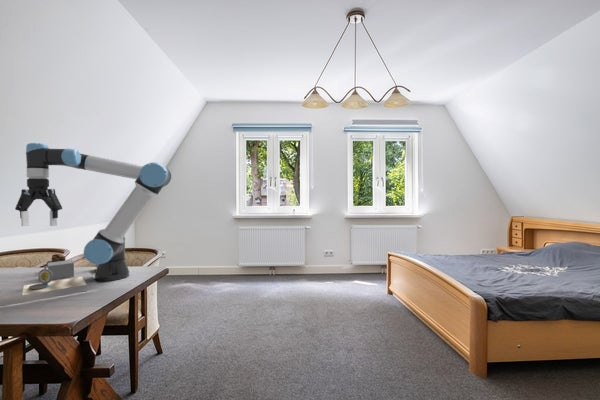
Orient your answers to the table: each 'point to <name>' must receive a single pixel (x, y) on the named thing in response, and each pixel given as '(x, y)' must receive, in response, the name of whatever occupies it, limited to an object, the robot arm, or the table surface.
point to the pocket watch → (41, 276)
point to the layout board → (55, 285)
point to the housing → (61, 269)
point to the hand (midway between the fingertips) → (39, 225)
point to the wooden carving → (57, 258)
